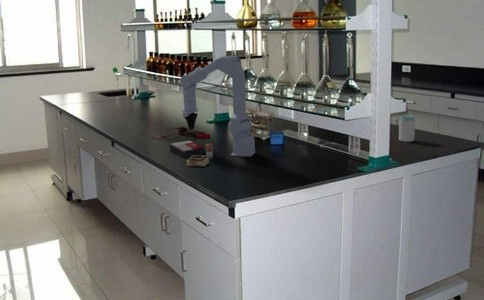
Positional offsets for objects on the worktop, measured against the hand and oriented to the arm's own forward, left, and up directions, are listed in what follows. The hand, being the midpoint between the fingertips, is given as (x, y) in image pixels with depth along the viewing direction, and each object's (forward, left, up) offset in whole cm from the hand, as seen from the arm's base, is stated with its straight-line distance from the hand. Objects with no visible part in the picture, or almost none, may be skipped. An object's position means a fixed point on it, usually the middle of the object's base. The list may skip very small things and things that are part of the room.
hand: (191, 129), depth 266 cm
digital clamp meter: (+14, -19, -10) cm, 26 cm away
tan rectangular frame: (-13, +28, -9) cm, 32 cm away
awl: (-15, +19, -9) cm, 25 cm away
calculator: (-1, +9, -10) cm, 13 cm away
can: (-98, -25, -9) cm, 102 cm away
